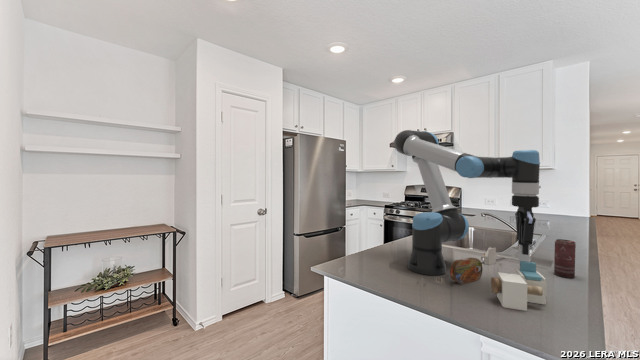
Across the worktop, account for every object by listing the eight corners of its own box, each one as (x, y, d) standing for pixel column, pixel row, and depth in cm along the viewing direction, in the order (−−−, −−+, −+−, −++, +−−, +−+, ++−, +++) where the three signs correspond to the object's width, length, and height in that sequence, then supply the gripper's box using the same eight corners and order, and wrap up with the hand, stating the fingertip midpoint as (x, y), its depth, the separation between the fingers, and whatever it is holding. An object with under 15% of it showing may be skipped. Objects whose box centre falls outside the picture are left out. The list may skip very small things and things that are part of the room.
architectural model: (480, 263, 125) (481, 247, 125) (489, 261, 129) (489, 245, 128) (488, 266, 122) (488, 249, 122) (497, 263, 126) (497, 247, 125)
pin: (493, 294, 86) (494, 280, 86) (490, 289, 90) (491, 275, 90) (543, 302, 81) (544, 286, 81) (538, 295, 85) (538, 280, 85)
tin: (455, 285, 99) (455, 262, 99) (448, 282, 102) (448, 260, 102) (483, 279, 106) (483, 257, 105) (475, 276, 108) (476, 255, 108)
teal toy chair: (526, 279, 87) (526, 267, 87) (519, 271, 93) (519, 260, 93) (541, 280, 85) (541, 268, 85) (533, 273, 92) (534, 262, 92)
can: (579, 279, 106) (580, 242, 106) (560, 277, 107) (561, 242, 107) (568, 273, 112) (569, 239, 112) (550, 272, 113) (551, 238, 113)
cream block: (502, 307, 83) (503, 281, 83) (497, 296, 91) (497, 272, 91) (526, 310, 81) (527, 284, 81) (518, 299, 89) (519, 274, 88)
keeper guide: (521, 301, 87) (521, 276, 87) (514, 292, 94) (515, 268, 94) (545, 304, 85) (546, 278, 85) (537, 295, 92) (538, 271, 91)
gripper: (545, 196, 88) (544, 270, 88) (531, 194, 100) (530, 258, 100) (517, 196, 90) (516, 267, 91) (507, 193, 103) (506, 256, 103)
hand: (523, 262), depth 96 cm, fingers closed
